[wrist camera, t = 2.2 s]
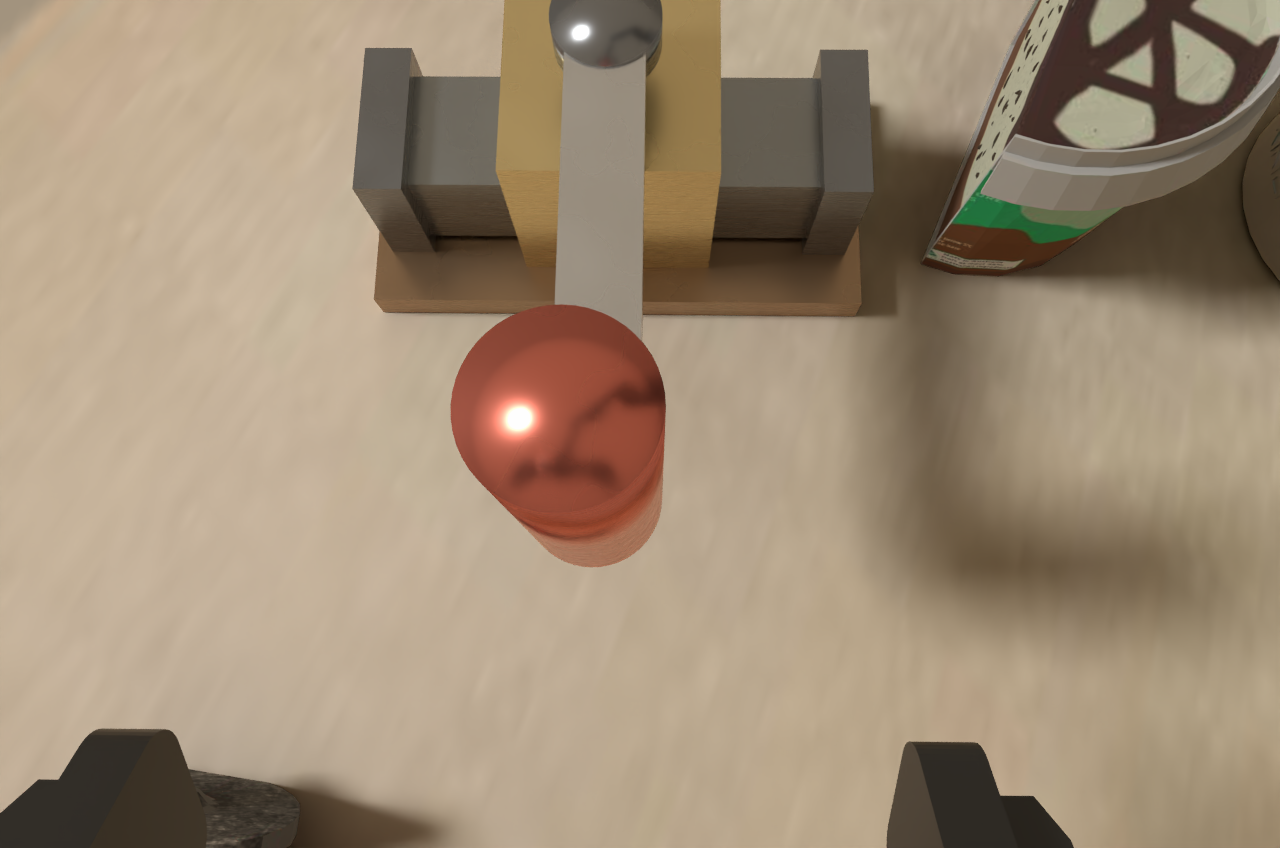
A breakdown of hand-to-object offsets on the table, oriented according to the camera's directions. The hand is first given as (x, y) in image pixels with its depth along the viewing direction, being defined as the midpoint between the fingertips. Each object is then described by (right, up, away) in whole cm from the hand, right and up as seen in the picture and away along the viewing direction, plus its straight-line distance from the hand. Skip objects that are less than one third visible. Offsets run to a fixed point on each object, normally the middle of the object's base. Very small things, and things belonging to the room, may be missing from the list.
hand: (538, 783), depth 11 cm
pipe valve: (0, +12, +23) cm, 26 cm away
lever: (0, +8, +13) cm, 15 cm away
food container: (+15, +12, +24) cm, 31 cm away
